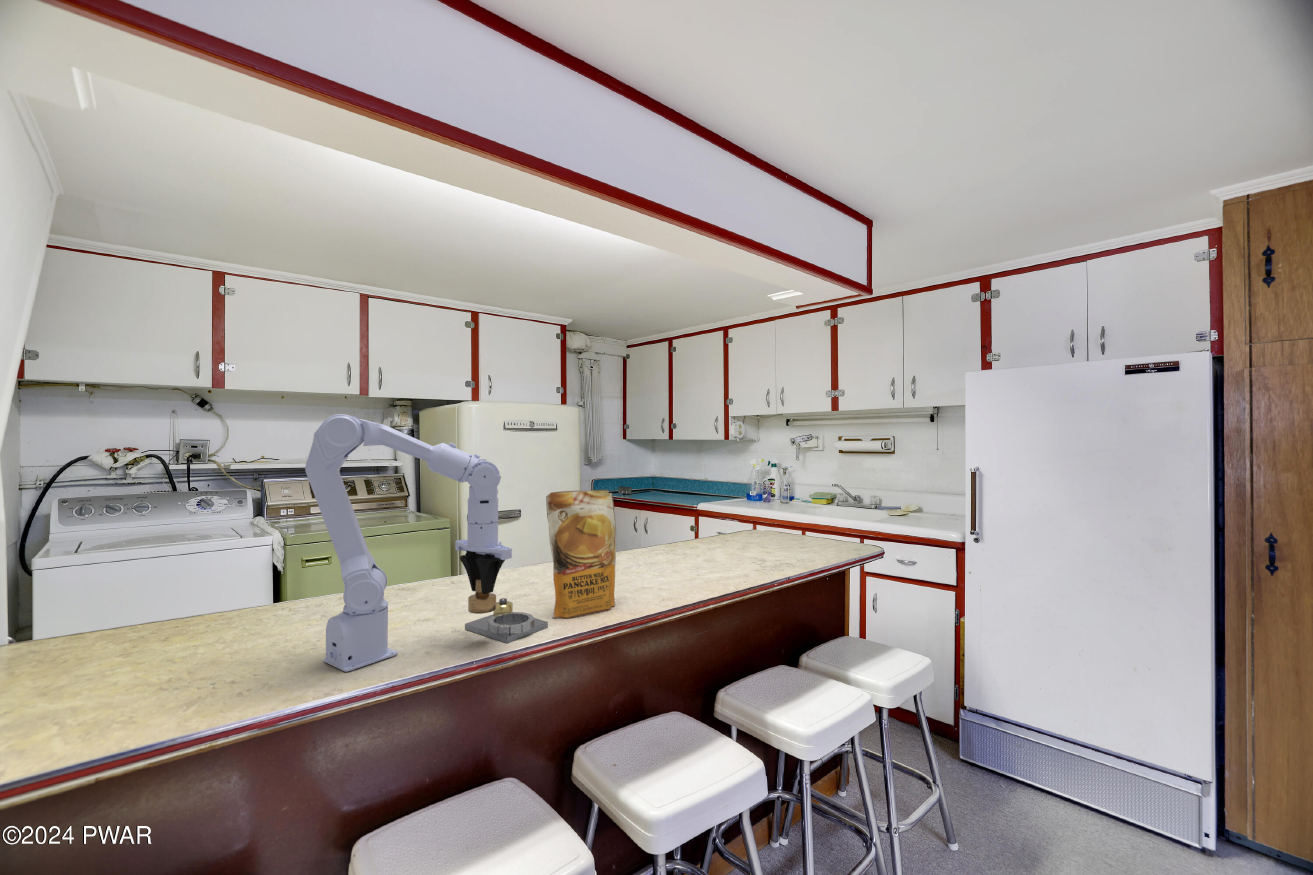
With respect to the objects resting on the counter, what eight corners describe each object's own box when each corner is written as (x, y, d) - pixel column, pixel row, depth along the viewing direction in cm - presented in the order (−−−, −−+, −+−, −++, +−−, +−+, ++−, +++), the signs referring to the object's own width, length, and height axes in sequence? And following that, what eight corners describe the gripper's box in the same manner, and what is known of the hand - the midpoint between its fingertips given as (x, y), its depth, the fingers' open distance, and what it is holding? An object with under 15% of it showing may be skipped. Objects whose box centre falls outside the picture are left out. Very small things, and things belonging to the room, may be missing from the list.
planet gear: (479, 615, 104) (479, 583, 104) (462, 610, 107) (462, 579, 107) (501, 608, 108) (501, 578, 108) (484, 603, 111) (485, 574, 111)
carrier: (509, 643, 107) (509, 618, 107) (464, 629, 115) (465, 605, 115) (549, 627, 117) (549, 604, 117) (506, 615, 124) (506, 593, 124)
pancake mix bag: (538, 614, 125) (539, 491, 125) (610, 600, 136) (611, 487, 136) (551, 622, 120) (552, 494, 120) (625, 607, 131) (626, 489, 131)
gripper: (524, 522, 107) (523, 592, 107) (475, 516, 115) (475, 581, 115) (495, 527, 101) (494, 601, 101) (446, 520, 109) (445, 588, 109)
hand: (482, 591), depth 108 cm, fingers closed on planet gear, 3 cm apart
